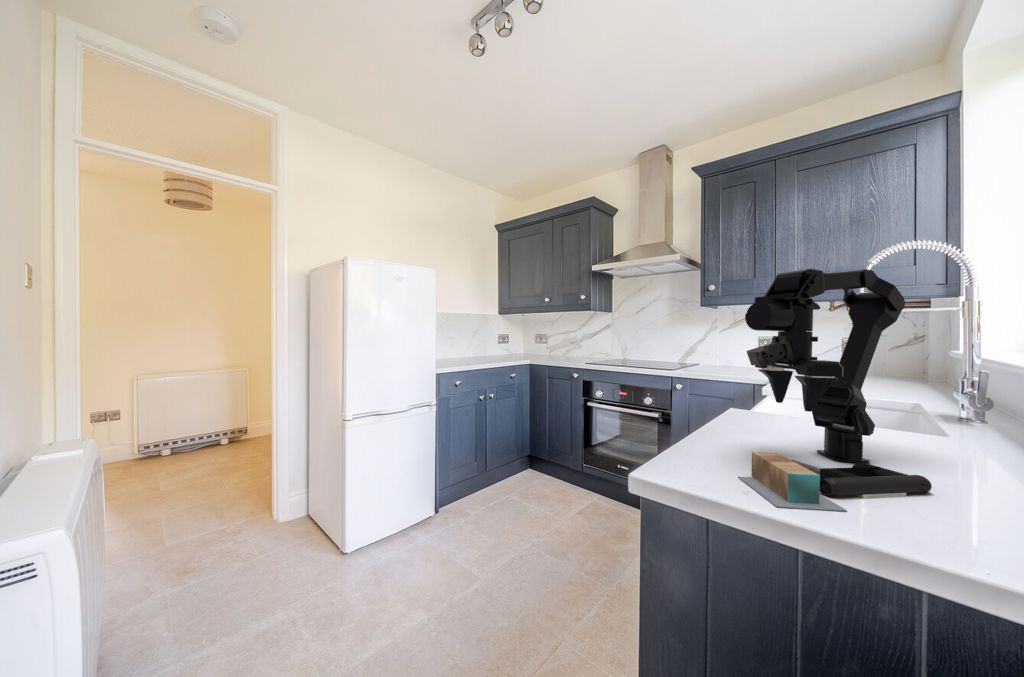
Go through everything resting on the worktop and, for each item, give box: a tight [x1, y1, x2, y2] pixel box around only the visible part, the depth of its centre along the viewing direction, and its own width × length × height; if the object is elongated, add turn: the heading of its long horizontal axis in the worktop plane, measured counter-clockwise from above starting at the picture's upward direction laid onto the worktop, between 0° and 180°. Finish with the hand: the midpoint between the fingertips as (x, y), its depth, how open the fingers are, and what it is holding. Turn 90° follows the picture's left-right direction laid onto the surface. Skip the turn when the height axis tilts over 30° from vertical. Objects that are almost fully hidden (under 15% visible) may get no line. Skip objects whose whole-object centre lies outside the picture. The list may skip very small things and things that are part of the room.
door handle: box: [790, 459, 933, 499], centre depth 69 cm, size 3×20×16 cm
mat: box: [737, 476, 848, 513], centre depth 63 cm, size 12×10×1 cm
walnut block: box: [750, 451, 821, 504], centre depth 64 cm, size 4×4×11 cm
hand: (792, 406), depth 77 cm, fingers open, 9 cm apart
